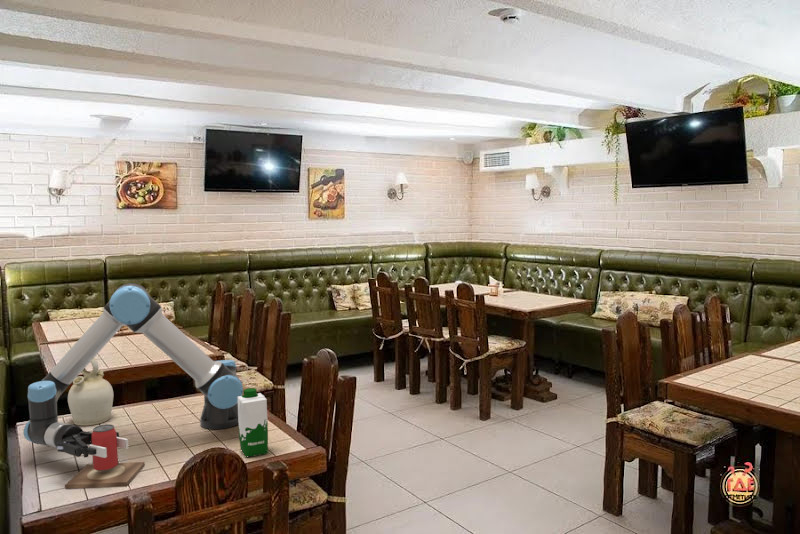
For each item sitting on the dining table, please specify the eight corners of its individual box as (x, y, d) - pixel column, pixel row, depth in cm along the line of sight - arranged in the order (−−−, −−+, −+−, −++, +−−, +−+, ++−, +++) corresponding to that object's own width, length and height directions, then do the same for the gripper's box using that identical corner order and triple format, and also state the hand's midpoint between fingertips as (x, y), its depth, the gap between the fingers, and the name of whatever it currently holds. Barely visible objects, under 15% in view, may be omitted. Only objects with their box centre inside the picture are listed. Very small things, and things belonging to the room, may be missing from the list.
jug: (84, 430, 216) (79, 362, 214) (60, 423, 224) (56, 357, 222) (123, 418, 229) (119, 353, 227) (99, 411, 237) (95, 349, 235)
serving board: (144, 465, 184) (144, 460, 184) (127, 486, 170) (126, 480, 170) (87, 468, 183) (87, 463, 183) (65, 488, 169) (64, 483, 169)
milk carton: (264, 444, 199) (261, 386, 197) (271, 454, 191) (269, 393, 189) (237, 450, 195) (234, 390, 193) (243, 459, 187) (241, 397, 185)
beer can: (108, 472, 173) (105, 432, 171) (88, 471, 174) (85, 430, 173) (123, 463, 179) (120, 424, 178) (103, 461, 180) (101, 423, 179)
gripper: (94, 437, 193) (144, 448, 183) (34, 460, 175) (86, 474, 165) (92, 415, 192) (143, 424, 182) (32, 435, 175) (85, 447, 165)
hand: (116, 448), depth 174 cm, fingers closed on beer can, 7 cm apart
